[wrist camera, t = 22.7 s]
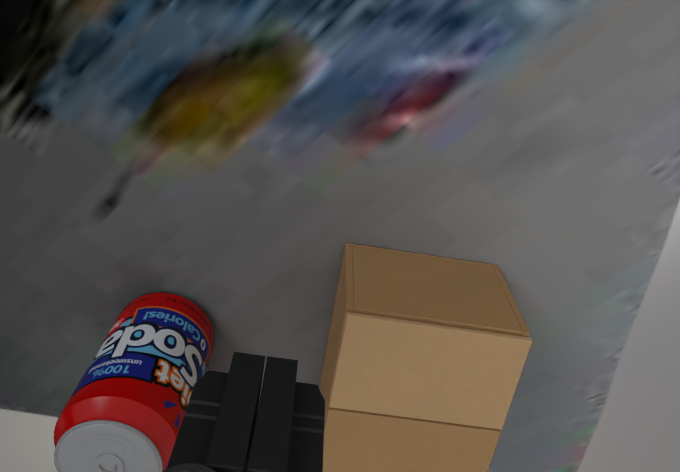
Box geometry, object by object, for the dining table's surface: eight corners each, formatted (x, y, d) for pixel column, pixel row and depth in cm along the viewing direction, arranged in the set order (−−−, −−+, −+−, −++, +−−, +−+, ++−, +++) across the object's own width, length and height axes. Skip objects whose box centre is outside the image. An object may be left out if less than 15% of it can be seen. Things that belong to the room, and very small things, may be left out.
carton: (345, 242, 49) (346, 314, 40) (497, 264, 50) (533, 340, 40) (317, 397, 55) (312, 490, 46) (452, 415, 56) (475, 510, 47)
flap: (346, 311, 40) (346, 314, 40) (531, 337, 41) (532, 341, 40) (329, 403, 43) (328, 407, 43) (500, 426, 44) (501, 430, 43)
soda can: (121, 362, 54) (46, 506, 40) (118, 281, 50) (36, 408, 37) (214, 371, 54) (172, 517, 40) (218, 291, 51) (173, 421, 37)
